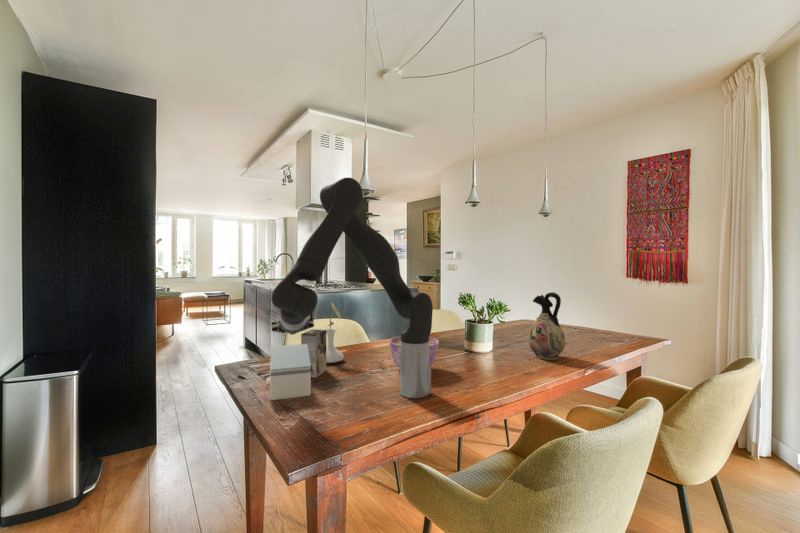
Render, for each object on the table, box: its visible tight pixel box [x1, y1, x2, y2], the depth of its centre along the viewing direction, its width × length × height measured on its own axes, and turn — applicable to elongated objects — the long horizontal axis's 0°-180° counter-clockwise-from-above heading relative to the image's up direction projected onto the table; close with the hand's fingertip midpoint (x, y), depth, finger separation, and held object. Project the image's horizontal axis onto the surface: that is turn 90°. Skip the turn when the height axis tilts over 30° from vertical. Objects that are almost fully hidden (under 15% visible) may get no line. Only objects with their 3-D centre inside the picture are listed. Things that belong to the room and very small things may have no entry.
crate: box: [269, 361, 312, 401], centre depth 118 cm, size 12×11×9 cm
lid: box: [269, 343, 311, 371], centre depth 117 cm, size 12×11×1 cm
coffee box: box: [300, 329, 327, 378], centre depth 137 cm, size 9×6×16 cm
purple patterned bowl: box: [388, 335, 440, 368], centre depth 143 cm, size 20×20×12 cm
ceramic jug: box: [528, 291, 566, 361], centre depth 162 cm, size 17×15×30 cm
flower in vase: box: [324, 302, 345, 364], centre depth 154 cm, size 13×11×25 cm
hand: (292, 331), depth 117 cm, fingers closed
